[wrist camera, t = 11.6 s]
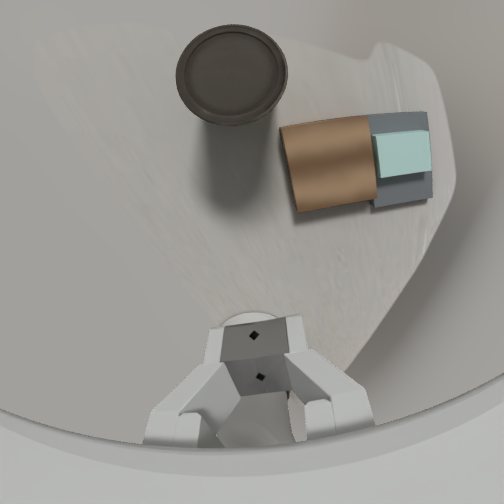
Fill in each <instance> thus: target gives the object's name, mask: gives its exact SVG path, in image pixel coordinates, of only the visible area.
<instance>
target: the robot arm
mask: <svg viewBox="0 0 504 504" xmlns="http://www.w3.org/2000/svg"><path fill="white" fill-rule="evenodd" d="M290 390H293V392H294V393H295V394H296V395H297V396H298V397H299V399H300V400H301V401H302V402H303V403H304V404H305V406H304V408H305V419H306V430H307V441H301V442H295V439H294V437H293V434H292V430H291V424H290V418H289V411H288V399H289V393H290ZM216 434H217V436H216ZM0 504H504V373H502V374H501V375H499V376H497V377H495V378H494V379H492V380H490V381H488V382H486V383H484V384H482V385H480V386H478V387H477V388H474V389H472V390H470V391H468V392H466V393H464V394H462V395H460V396H457V397H455V398H453V399H451V400H448V401H446V402H443V403H441V404H439V405H436V406H434V407H431V408H429V409H426V410H423V411H421V412H418V413H415V414H412V415H409V416H406V417H403V418H400V419H397V420H394V421H391V422H387V423H384V424H381V425H377V426H375V422H374V418H373V415H372V411H371V408H370V404H369V401H368V397H367V394H366V391H365V388H363V387H362V386H361V385H359V384H358V383H357V382H355V381H354V380H353V379H351V378H350V377H349V376H347V375H346V374H345V373H344V372H342V371H341V370H340V369H338V368H337V367H336V366H334V365H333V364H332V363H331V362H329V361H328V360H327V359H325V358H324V357H323V356H322V355H320V354H319V353H318V352H316V351H315V350H314V349H309V350H308V346H307V340H306V334H305V329H304V323H303V318H302V314H301V313H299V314H294V315H289V316H286V317H281V318H276V317H274V316H271V315H268V314H264V313H244V314H240V315H237V316H234V317H232V318H230V319H229V320H227V321H226V322H225V323H224V324H223V325H222V326H221V327H214V328H211V329H210V330H209V333H208V338H207V343H206V348H205V353H204V358H203V364H201V365H197V366H196V367H195V368H194V370H193V371H191V373H189V374H188V375H187V377H185V378H184V379H183V381H181V383H180V384H178V385H177V386H176V388H174V390H172V391H171V393H169V394H168V395H167V396H166V397H165V398H164V399H163V400H162V401H161V402H160V403H159V404H158V405H157V406H156V407H155V408H154V409H153V410H152V411H151V414H150V418H149V421H148V425H147V429H146V432H145V436H144V440H143V444H135V443H127V442H120V441H114V440H108V439H103V438H97V437H92V436H87V435H83V434H79V433H74V432H70V431H66V430H62V429H59V428H55V427H51V426H48V425H45V424H41V423H38V422H35V421H32V420H29V419H26V418H23V417H21V416H18V415H15V414H12V413H9V412H7V411H5V410H2V409H0Z"/></svg>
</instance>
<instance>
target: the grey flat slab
mask: <svg viewBox="0 0 504 504" xmlns="http://www.w3.org/2000/svg"><path fill="white" fill-rule="evenodd" d="M361 116H368V122H369V128H370V135H374V134H383V133H393V132H403V131H415V130H424V131H429V125H428V117H427V112H399V113H384V114H372V115H361ZM429 140H430V135H429ZM371 142H372V140H371ZM372 150H373V147H372ZM430 151H431V146H430ZM373 158H374V155H373ZM431 166H432V161H431ZM374 167H375V163H374ZM375 176H376V187H377V199H371V205H372V206H373V207H374V208H376V207H382V206H387V205H393V204H398V203H404V202H410V201H416V200H422V199H427V198H433V192H432V171H424V172H417V173H410V174H403V175H397V176H390V177H384V178H380V177H379V176H377V175H376V171H375Z"/></svg>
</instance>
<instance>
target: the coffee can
mask: <svg viewBox="0 0 504 504" xmlns="http://www.w3.org/2000/svg"><path fill="white" fill-rule="evenodd" d="M287 79H288V67H287V62H286V59H285V56H284V54H283V52H282V50H281V49H280V47H279V46H278V44H277V43H276V42H275V41H274V40H273V39H272V38H271V37H269V36H268V35H267V34H265V33H263V32H262V31H260V30H258V29H255V28H252V27H249V26H245V25H236V24H231V25H222V26H218V27H215V28H212V29H209V30H207V31H205V32H203V33H202V34H200V35H198V36H197V37H196V38H194V39H193V40H192V41H191V42H190V43H189V44H188V45H187V47H186V48H185V49H184V51H183V53H182V54H181V56H180V58H179V61H178V64H177V68H176V85H177V89H178V92H179V95H180V97H181V99H182V101H183V102H184V104H185V105H186V107H187V108H188V109H189V110H190V111H191V112H193V113H194V114H195V115H196V116H198V117H199V118H201V119H203V120H205V121H207V122H210V123H213V124H217V125H224V126H236V125H242V124H247V123H250V122H253V121H255V120H257V119H259V118H261V117H263V116H264V115H266V114H267V113H268V112H270V111H271V110H272V109H273V108H274V107H275V106H276V104H277V103H278V102H279V100H280V99H281V97H282V95H283V93H284V91H285V88H286V85H287Z"/></svg>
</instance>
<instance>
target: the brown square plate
mask: <svg viewBox="0 0 504 504" xmlns="http://www.w3.org/2000/svg"><path fill="white" fill-rule="evenodd" d="M279 128H280V132H281V137H282V141H283V146H284V150H285V155H286V160H287V165H288V170H289V175H290V180H291V185H292V190H293V195H294V201H295V206H296V209H297V211H298V213H300V212H306V211H311V210H316V209H321V208H327V207H332V206H337V205H343V204H348V203H354V202H360V201H365V200H371V199H377V187H376V176H375V167H374V158H373V150H372V142H371V135H370V128H369V122H368V116H351V117H343V118H335V119H327V120H320V121H314V122H307V123H301V124H295V125H290V126H284V127H279Z"/></svg>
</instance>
